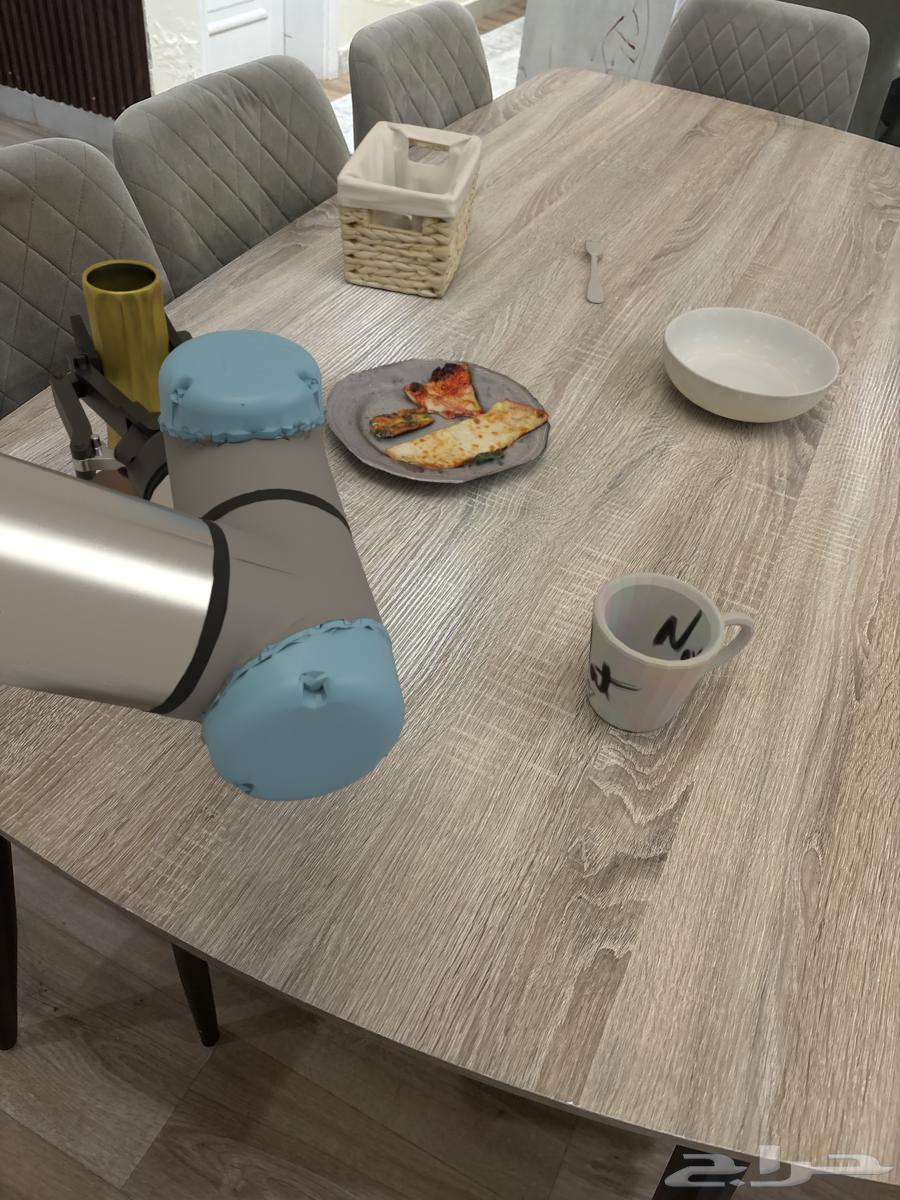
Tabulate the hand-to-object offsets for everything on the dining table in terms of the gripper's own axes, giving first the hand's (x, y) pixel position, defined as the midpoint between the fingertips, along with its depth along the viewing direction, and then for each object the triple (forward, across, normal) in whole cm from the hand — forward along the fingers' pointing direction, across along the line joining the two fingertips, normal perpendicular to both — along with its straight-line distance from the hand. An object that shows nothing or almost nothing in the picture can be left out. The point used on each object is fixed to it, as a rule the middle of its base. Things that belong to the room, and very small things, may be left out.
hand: (118, 326), depth 73 cm
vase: (-5, 0, -8) cm, 9 cm away
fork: (+37, +74, -22) cm, 86 cm away
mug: (-34, +34, -22) cm, 53 cm away
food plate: (+7, +34, -22) cm, 41 cm away
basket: (+47, +49, -22) cm, 71 cm away
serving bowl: (+2, +72, -22) cm, 76 cm away
